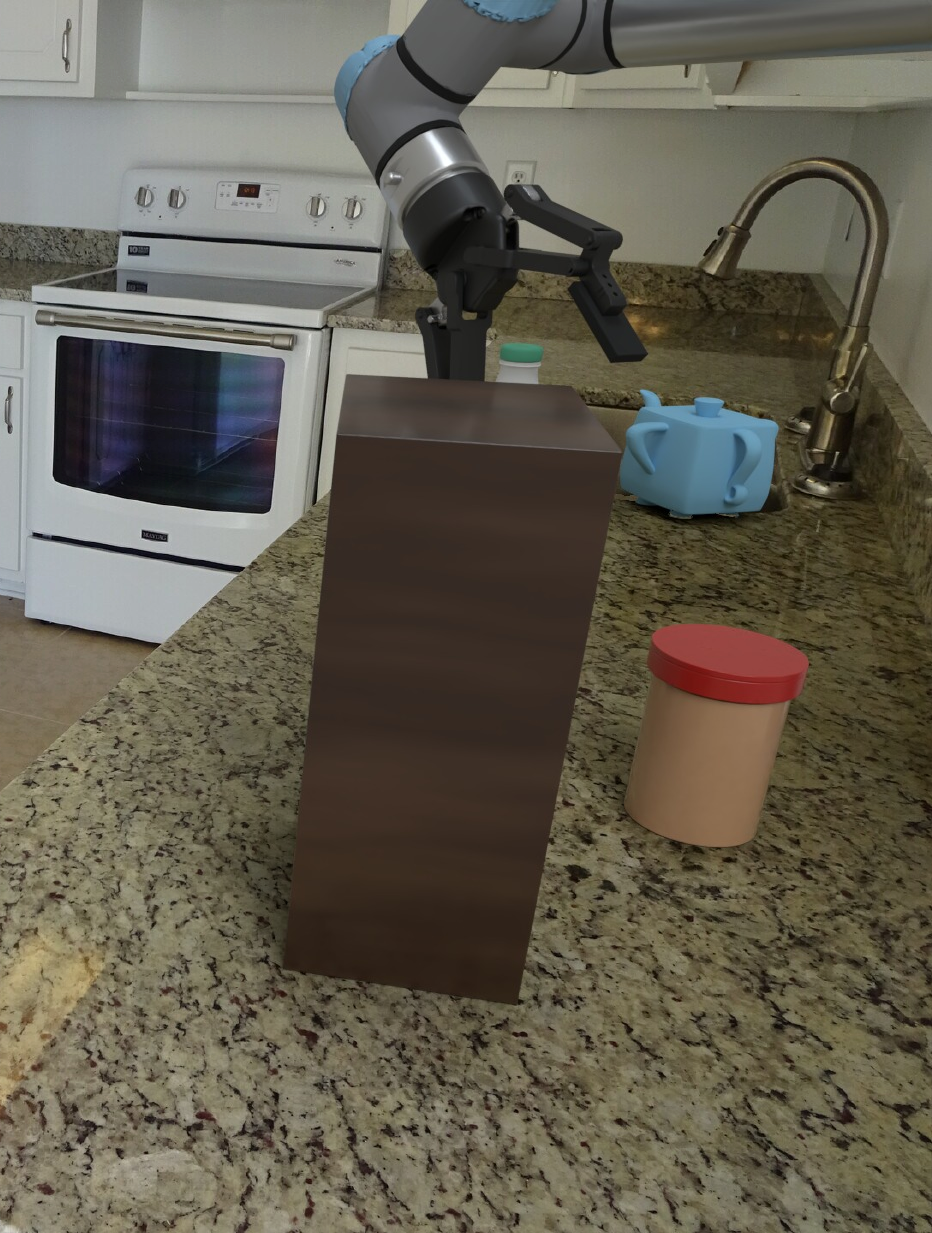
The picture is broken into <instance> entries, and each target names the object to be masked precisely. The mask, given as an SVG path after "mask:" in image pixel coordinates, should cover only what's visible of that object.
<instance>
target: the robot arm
mask: <svg viewBox="0 0 932 1233" xmlns="http://www.w3.org/2000/svg"><path fill="white" fill-rule="evenodd" d="M921 52H932V0H426V1H425V2H424V4H423V5H422V6H421V8H420V10H419V11H418V12H417V14H416V15H415V16H414V18H413V20H411V22H410V24H409V25H408V26H407V28H406V29H405V30H404V32H403V33H402V34H401V35H400V34H384V35H380V36H377V37H375V38H372V39H370V40H369V41H367V42H365V43H364V46H363V48H361V49H360V50H358V51H357V52H352V53H351V54H350V55H349V56H348V57H347V58H346V60H345V61H344V62H343V64H342V65H341V67H340V69H339V70H338V73H337V75H336V79H335V80H334V86H333V98H334V101H335V105H336V107H337V110H338V112H339V114H340V116H341V119H342V121H343V124H344V125H343V126H344V129H345V132H346V135H347V136H348V138H349V139H350V141H351V142H353V143H354V146H356V148H357V150H358V152H359V154H360V156H361V158H362V159H363V162H364V163H365V165H366V166H367V168H368V170H369V172H370V173H371V175H372V177H373V179H374V180H375V185H376V186H377V187H378V189H379V191H380V194H381V196H382V198H383V200H384V201H385V203H386V205H387V207H388V208H389V211H390V212H391V215H392V217H393V218H394V220H395V222H396V223H397V225H398V228H399V229H400V230H401V231H402V236H403V238H404V240H405V242H406V244H407V246H408V248H409V250H410V252H411V254H412V256H413V257H414V259H415V261H416V263H417V264H418V266H419V268H420V269H422V270H423V271H424V272H425V273H426V274H428V275H429V276H430V277H431V278H432V279H433V280H434V282H435V286H436V295H437V297H436V298H435V299H434V300H433V301H432V302H431V303H430V304H429V305H428V306H419V307H418V308H416V309H415V311H414V312H415V313H414V319H415V322H416V324H417V327H418V329H419V332H420V334H421V337H422V343H423V351H424V352H423V353H424V360H425V368H426V376H427V377H426V378H431V379H450V380H469V381H486V361H487V360H486V359H487V333H488V330H489V329H490V328H491V327H492V326H493V316H494V315H493V313H494V312H493V311H495V310H496V309H497V308H498V307H499V306H500V305H501V303H502V302H503V299H504V298H505V295H506V294H507V293H508V292H509V291H511V290H512V289H514V287H515V286H516V284H517V283H518V282H519V278H518V275H519V272H520V270H522V271H529V272H536V273H543V274H549V275H550V274H552V275H559V276H565V278H578V279H579V280H573V282H572V283H571V284H570V285H569V286H568V287H567V288H566V290H567V292H568V293H569V296H570V297H571V299H572V300H573V302H574V304H575V305H576V307H577V309H578V310H579V312H580V314H581V315H582V317H583V319H584V320H585V322H586V324H587V326H588V327H589V329H590V331H591V332H592V334H593V336H594V338H595V339H596V342H597V343H598V344H599V347H600V348H601V349H602V352H603V353H604V355H605V356H606V358H607V361H609V362H608V363H610V364H621V363H639V362H642V361H643V360H644V359H645V358H646V357H647V356H648V355H649V352H648V350H647V349H646V347H645V346H644V344H643V342H642V341H641V339H640V337H639V335H638V334H637V332H636V331H635V329H634V327H633V325H632V324H631V322H630V321H629V319H628V317H627V315H626V314H625V312H624V310H625V309H626V308H627V306H628V301H627V297H626V295H625V293H624V292H623V291H622V289H621V287H620V286H619V284H618V283H617V280H616V279H615V277H614V276H613V274H612V273H611V271H610V269H611V263H610V259H611V256H612V254H613V252H614V251H616V250H619V248H621V247H622V245H623V242H624V237H623V234H622V232H621V231H619V230H616V229H614V228H612V227H610V226H608V225H606V224H604V223H602V222H599V221H597V220H595V219H592V218H590V217H589V216H586V215H584V214H581V213H579V212H577V211H575V210H573V209H571V208H569V207H567V206H564V205H562V204H561V203H557V202H555V201H553V200H552V199H551V198H550V197H549V195H548V194H547V193H546V192H545V190H544V189H543V188H542V187H541V186H540V185H539V184H531V183H530V184H529V183H510V184H507V185H506V186H505V187H504V190H503V194H502V192H501V190H500V188H499V187H498V186H497V184H496V181H495V180H494V179H493V177H492V176H491V174H490V171H489V168H488V167H487V165H486V164H485V162H484V161H483V159H482V157H481V155H480V154H479V151H477V149H476V147H475V146H474V144H473V142H472V140H471V139H470V137H469V136H468V134H467V132H466V131H465V128H464V127H463V125H462V123H461V120H460V115H462V113H463V112H464V111H465V109H466V108H467V107H468V106H469V105H470V104H471V103H472V102H473V101H474V100H475V99H476V98H477V96H478V95H480V93H481V92H482V90H483V89H484V88H485V87H486V86H487V85H488V83H489V82H490V81H491V79H493V77H494V76H495V75H496V74H497V73H498V71H499V70H500V69H501V68H508V69H521V70H533V71H535V70H540V71H541V70H542V71H549V72H558V73H559V72H560V73H564V74H565V75H574V76H576V75H577V76H589V75H596V74H600V73H606V72H609V71H611V70H612V71H613V70H622V69H632V68H649V67H651V68H653V67H671V66H684V65H685V66H688V65H703V64H705V65H706V64H719V63H720V64H721V63H723V64H724V63H739V62H759V61H776V60H777V61H778V60H793V59H795V60H796V59H812V58H814V59H815V58H830V57H831V58H832V57H848V56H849V57H850V56H851V57H852V56H866V55H884V54H885V55H886V54H887V55H888V54H901V53H902V54H903V53H921ZM519 221H525V222H526V223H529V224H532V225H534V226H536V227H538V228H540V229H541V230H544V231H545V232H548V233H550V234H552V235H553V236H556V237H558V238H560V239H563V240H564V241H567V242H568V243H571V244H573V245H574V246H577V247H579V248H581V249H582V251H581V253H580V254H573V253H566V252H565V253H564V252H557V251H549V250H542V249H536V248H528V247H521V246H520V224H519ZM463 312H466V313H470V314H476V317H475V318H474V319H464V317H463Z"/></svg>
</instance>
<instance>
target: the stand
mask: <svg viewBox="0 0 932 1233" xmlns="http://www.w3.org/2000/svg"><path fill="white" fill-rule="evenodd" d="M339 409H340V410H339V417H338V422H337V428H336V435H335V445H334V454H333V465H332V474H331V483H330V484H331V485H330V492H329V493H330V494H329V502H328V503H329V504H328V513H327V524H326V532H325V534H326V535H325V544H324V552H323V554H324V555H323V562H322V575H321V581H320V582H321V583H320V593H319V603H318V612H317V613H318V614H317V615H318V616H317V623H316V633H315V644H314V652H313V663H312V675H311V683H310V694H309V701H308V702H309V703H308V712H307V721H306V722H307V724H306V733H305V741H304V742H305V743H304V753H303V761H302V762H303V763H302V773H301V783H300V792H299V802H298V812H297V821H296V830H295V831H296V832H295V842H294V852H293V862H292V870H291V871H292V872H291V882H290V892H289V901H288V902H289V903H288V912H287V922H286V923H287V924H286V933H285V940H284V952H283V960H282V961H283V962H282V969H283V970H289V971H295V972H300V973H301V972H302V973H308V974H315V975H320V976H321V975H322V976H326V977H334V978H339V979H347V980H354V981H359V982H365V983H371V984H379V985H386V986H392V987H398V988H399V987H400V988H405V989H412V990H418V991H424V992H431V993H437V994H443V995H450V996H457V997H464V998H469V999H475V1000H482V1001H490V1002H496V1003H501V1004H502V1003H503V1004H508V1005H518V1003H519V997H520V993H521V987H522V983H523V978H524V971H525V966H526V961H527V956H528V950H529V945H530V940H531V935H532V930H533V924H534V919H535V914H536V908H537V903H538V898H539V893H540V888H541V883H542V878H543V874H544V867H545V862H546V856H547V852H548V845H549V841H550V835H551V830H552V825H553V820H554V814H555V810H556V804H557V800H558V795H559V789H560V785H561V784H560V783H561V778H562V774H563V768H564V762H565V756H566V752H567V747H568V741H569V737H570V731H571V726H572V720H573V714H574V709H575V705H576V701H577V700H576V699H577V694H578V689H579V684H580V678H581V674H582V668H583V662H584V659H585V658H584V657H585V654H586V653H585V652H586V647H587V642H588V636H589V631H590V626H591V621H592V615H593V611H594V605H595V600H596V595H597V589H598V584H599V580H600V574H601V569H602V563H603V560H604V559H603V558H604V553H605V548H606V544H607V537H608V532H609V527H610V522H611V516H612V512H613V506H614V502H615V501H614V500H615V495H616V491H617V487H618V486H617V484H618V480H619V476H620V468H621V463H622V459H623V455H624V452H623V451H622V450H621V447H619V445H618V444H617V443H616V441H615V439H614V438H612V436H611V435H610V433H609V432H608V431H607V430H606V429H605V427H604V426H603V424H602V423H601V422H600V421H599V419H598V418H597V416H595V414H594V412H593V411H592V410H591V409H590V408H589V406H588V405H587V404H586V403H585V401H584V400H583V399H582V397H581V396H580V395H579V393H578V392H577V391H576V389H575V388H574V387H573V386H572V385H565V384H564V385H561V384H544V383H543V384H542V383H539V384H526V383H507V382H495V381H486V380H485V381H469V380H450V379H431V378H428V377H413V376H412V377H409V376H391V375H372V374H352V373H347V374H345V379H344V385H343V390H342V397H341V404H340V408H339Z"/></svg>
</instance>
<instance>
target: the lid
mask: <svg viewBox="0 0 932 1233" xmlns="http://www.w3.org/2000/svg"><path fill="white" fill-rule="evenodd" d="M809 662H810V661H809V659H808V657H807V656H806V655H805V654H804V653H803V652H802V651H801V650H800V649H798V648H797V647H795V646H793V645H791V644H789V643H787V642H785V641H782V640H781V639H778V638H775V637H772V636H769V635H767V634H764V633H760V632H757V631H753V630H748V629H744V628H738V627H732V626H726V625H720V624H710V623H680V624H672V625H667V626H664V627H661V628H659V629H657V630H656V631H654V632H653V634H652V636H651V640H650V644H649V649H648V654H647V659H646V666H647V668H648V670H649V671H650V672H651V673H653V674H654V675H655V676H656V677H658V678H659V679H661V680H663V681H664V682H666V683H668V684H670V685H672V686H675V687H677V688H679V689H682V690H685V691H687V692H690V693H694V694H697V695H701V696H704V697H709V698H712V699H718V700H724V701H730V702H736V703H749V704H771V703H780V702H785V701H789V700H791V701H792V700H794V699H796V698H798V697H799V696H800V694H802V692H803V688H804V686H805V682H806V678H807V674H808V671H809V666H810V663H809Z"/></svg>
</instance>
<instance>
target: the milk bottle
mask: <svg viewBox="0 0 932 1233" xmlns="http://www.w3.org/2000/svg"><path fill="white" fill-rule="evenodd" d="M499 351H500V352H499V361H498V364H499V366H500V367H499V371H498V374H497V376H496V379H495V381H494V382H507V383H526V384H540V383H539V369H540V367H541V366H542V360H543V357H544V347H543V346H542V345H539V344H534V343H524V342H508V343H504V344H502V345H501V347H500V350H499Z"/></svg>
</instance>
